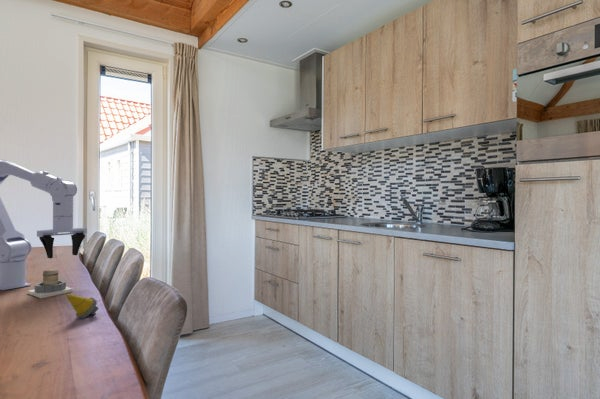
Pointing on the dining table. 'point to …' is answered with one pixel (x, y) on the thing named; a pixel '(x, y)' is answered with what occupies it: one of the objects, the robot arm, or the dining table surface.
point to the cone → (83, 305)
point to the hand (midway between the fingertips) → (62, 256)
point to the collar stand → (50, 289)
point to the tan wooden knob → (50, 277)
